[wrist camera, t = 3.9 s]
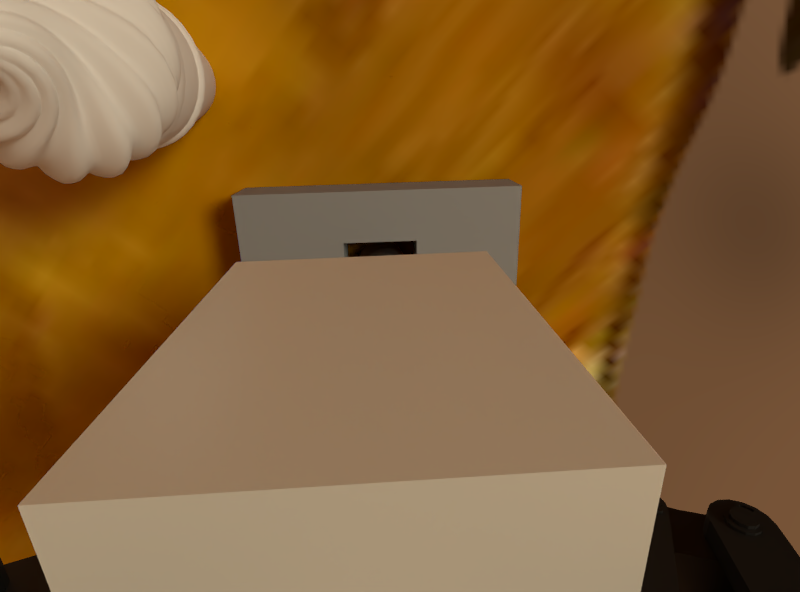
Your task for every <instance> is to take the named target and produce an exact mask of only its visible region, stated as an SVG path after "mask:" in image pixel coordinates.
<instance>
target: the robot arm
mask: <svg viewBox="0 0 800 592" xmlns="http://www.w3.org/2000/svg"><path fill="white" fill-rule="evenodd" d="M0 592H51V591H50V588H49V585H48V583H47V580H46V578H45V575H44V573H43V570H42V567H41V565H40V562H39V560H38V557H37V555H35V556H32V557H29V558H25V559H22V560H19V561H15V562H12V563H9V564H5V565H3V563H2V561H1V558H0ZM641 592H800V557H799V555H798V554H797V553H796V551H795V550H794V548H793V547H792V546H791V544H790V543H789V542H788V540H787V539H786V537H785V536H784V535H783V533H782V532H781V530H780V529H779V528H778V526H777V525H776V524H775V523H774V522H773V521H772V520H771V519H770V518H769V517H768V516H767V515H766V514H764V513H763V512H761V511H759V510H758V509H756V508H755V507H752V506H750V505H747V504H745V503H742V502H738V501H733V500H717V501H715V502H713V503H711V504H710V505H709V508H708V510H707V514H706V515H703V514H698V513H693V512H687V511H681V510H676V509H673V508H669V507H667V506H666V504H665V502H664V501H663V500H662V499H661V498H660V499H659V504H658V509H657V514H656V518H655V523H654V528H653V533H652V538H651V543H650V548H649V553H648V558H647V563H646V568H645V573H644V578H643V583H642V588H641Z"/></svg>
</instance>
